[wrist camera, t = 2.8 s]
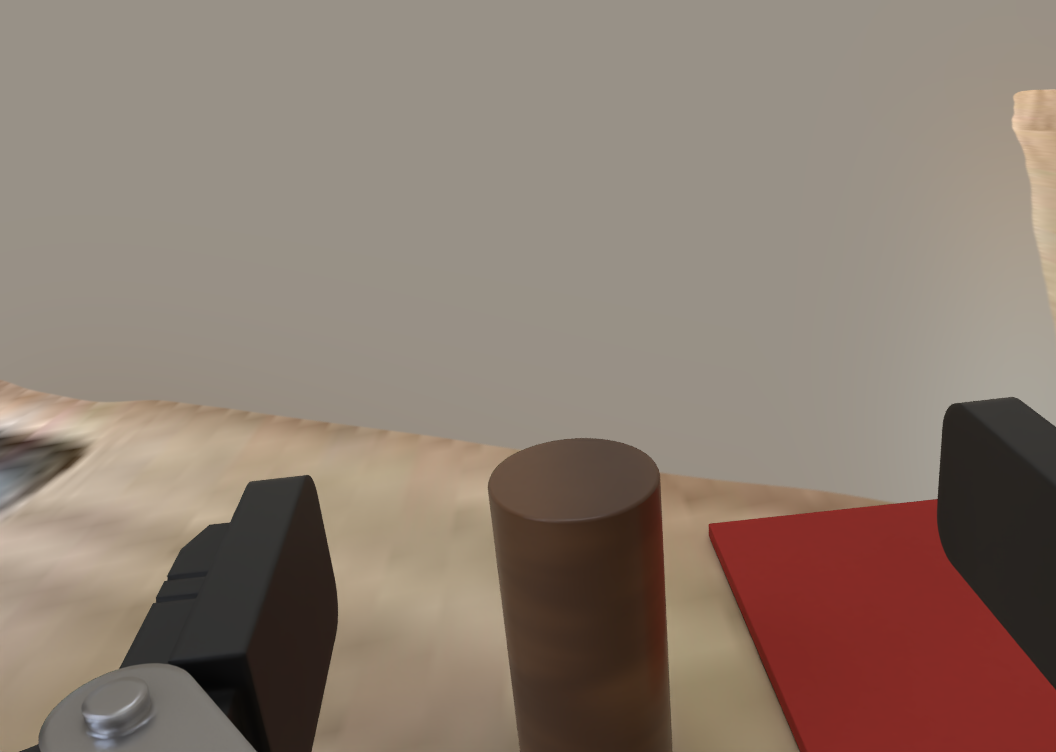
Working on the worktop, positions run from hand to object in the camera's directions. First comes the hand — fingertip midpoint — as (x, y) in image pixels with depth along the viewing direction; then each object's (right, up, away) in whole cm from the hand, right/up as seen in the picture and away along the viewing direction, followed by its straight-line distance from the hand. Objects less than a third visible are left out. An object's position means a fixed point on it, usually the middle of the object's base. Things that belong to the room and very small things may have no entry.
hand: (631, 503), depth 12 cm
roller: (+1, -10, +16) cm, 19 cm away
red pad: (+14, -7, +21) cm, 26 cm away
